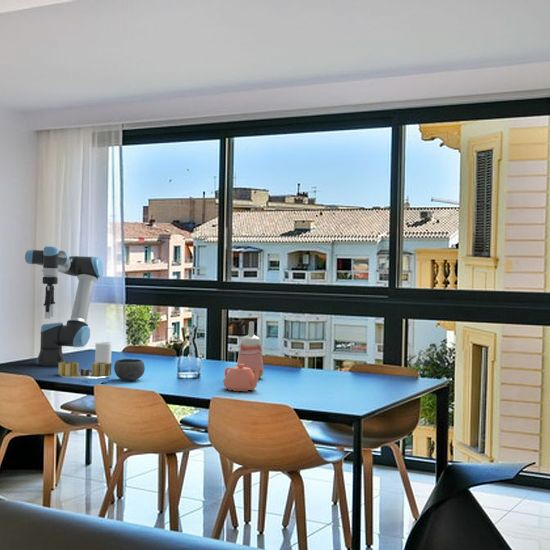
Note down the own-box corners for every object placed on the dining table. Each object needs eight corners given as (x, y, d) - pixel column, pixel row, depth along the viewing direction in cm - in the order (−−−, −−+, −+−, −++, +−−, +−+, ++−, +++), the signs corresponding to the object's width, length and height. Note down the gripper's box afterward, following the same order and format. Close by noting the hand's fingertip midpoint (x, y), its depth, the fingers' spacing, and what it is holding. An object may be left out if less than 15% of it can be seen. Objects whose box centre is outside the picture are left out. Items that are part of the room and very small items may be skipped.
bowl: (144, 382, 385) (145, 362, 385) (113, 382, 383) (113, 362, 383) (144, 378, 400) (144, 358, 400) (114, 377, 397) (115, 358, 397)
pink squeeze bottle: (246, 375, 423) (248, 320, 422) (268, 378, 414) (270, 322, 414) (230, 378, 411) (232, 321, 410) (252, 381, 402) (254, 323, 402)
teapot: (270, 391, 373) (271, 365, 373) (251, 395, 360) (252, 368, 360) (232, 385, 385) (233, 360, 385) (213, 389, 372) (214, 363, 372)
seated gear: (90, 374, 398) (90, 362, 397) (109, 373, 401) (109, 361, 401) (92, 376, 389) (93, 364, 388) (112, 376, 392) (112, 364, 392)
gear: (59, 373, 396) (59, 361, 396) (78, 373, 398) (79, 361, 398) (57, 376, 387) (57, 363, 387) (77, 376, 388) (77, 364, 388)
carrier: (62, 374, 403) (62, 362, 403) (110, 374, 407) (110, 363, 407) (57, 381, 380) (57, 369, 380) (108, 381, 384) (108, 369, 384)
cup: (106, 374, 407) (107, 344, 407) (92, 373, 408) (93, 343, 408) (113, 372, 415) (114, 342, 415) (98, 371, 416) (99, 341, 416)
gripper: (45, 275, 417) (44, 315, 417) (39, 276, 392) (38, 319, 393) (60, 276, 418) (58, 315, 418) (55, 277, 394) (53, 319, 394)
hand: (49, 317), depth 406 cm, fingers open, 13 cm apart
